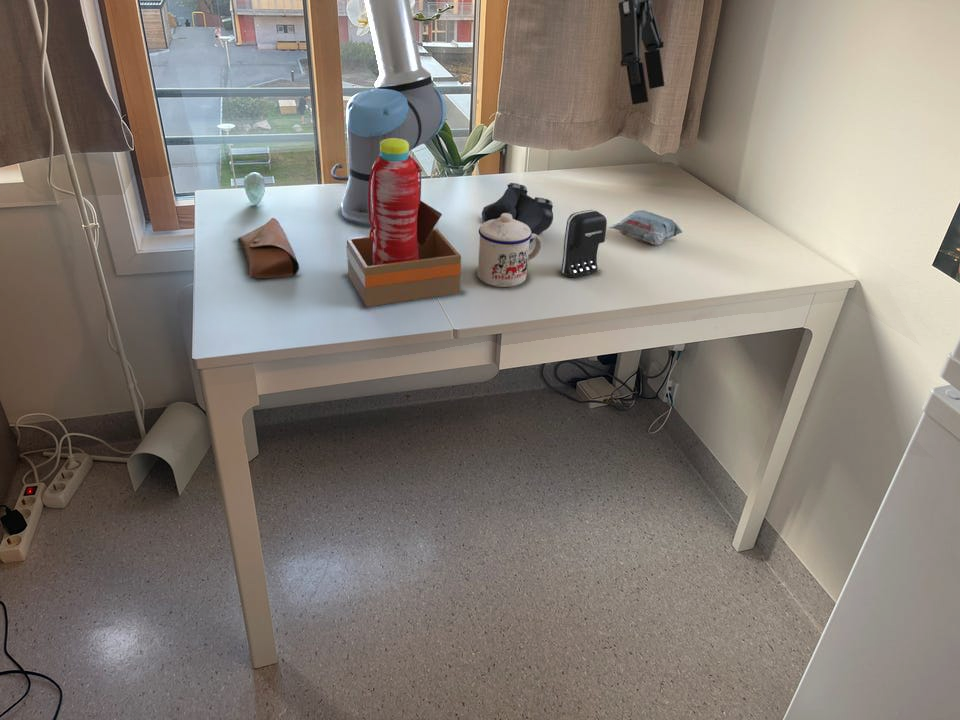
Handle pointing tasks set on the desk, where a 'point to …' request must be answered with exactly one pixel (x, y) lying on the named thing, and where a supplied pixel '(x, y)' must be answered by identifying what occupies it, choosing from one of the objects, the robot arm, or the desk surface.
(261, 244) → the sunglasses case
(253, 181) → the pale green rounded lump
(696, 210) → the desk surface
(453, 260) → the wooden box
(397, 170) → the water bottle
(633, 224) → the packaged food
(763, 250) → the desk surface
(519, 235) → the teacup with lid
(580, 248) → the battery charger
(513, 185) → the binoculars
